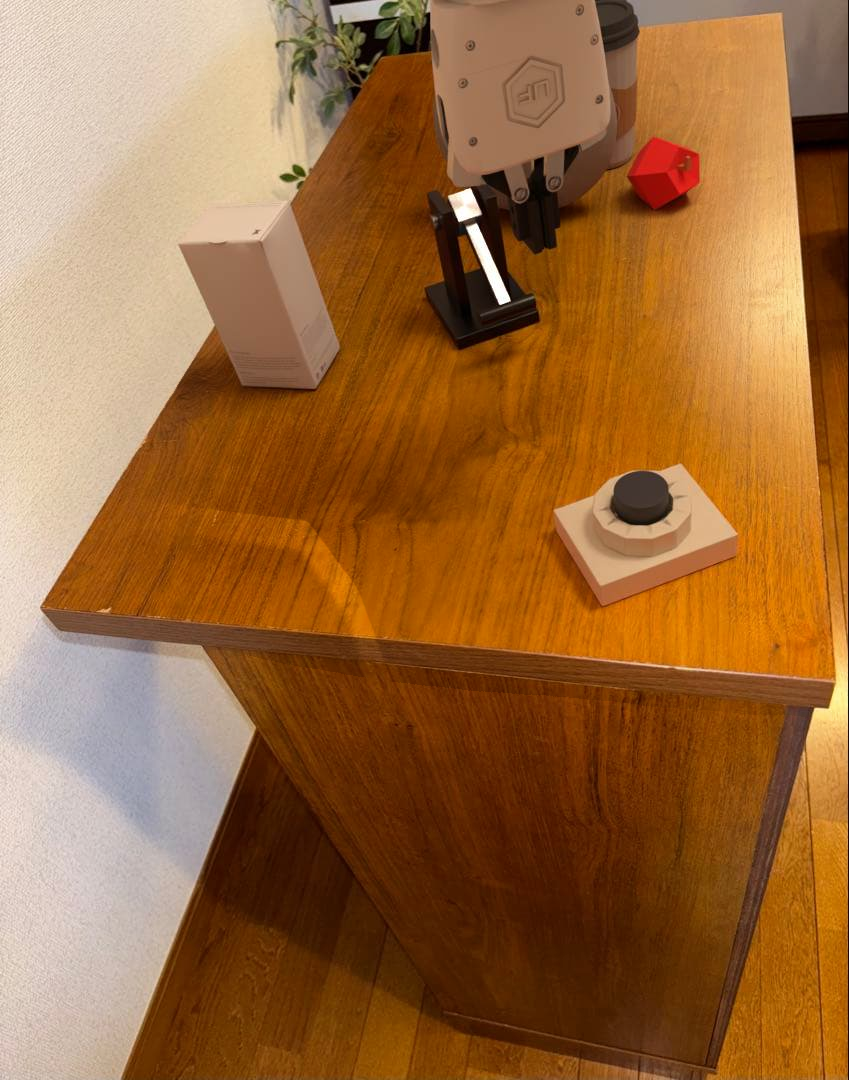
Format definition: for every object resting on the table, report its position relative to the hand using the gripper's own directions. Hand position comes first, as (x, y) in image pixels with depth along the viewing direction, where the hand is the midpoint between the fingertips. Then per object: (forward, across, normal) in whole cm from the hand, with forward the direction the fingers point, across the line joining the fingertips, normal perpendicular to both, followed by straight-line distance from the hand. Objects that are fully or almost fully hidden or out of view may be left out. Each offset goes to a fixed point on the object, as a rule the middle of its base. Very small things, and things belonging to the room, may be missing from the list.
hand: (538, 242), depth 68 cm
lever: (+10, 0, +16) cm, 18 cm away
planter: (+16, +11, +33) cm, 38 cm away
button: (+13, 0, -15) cm, 20 cm away
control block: (+16, 0, -15) cm, 22 cm away
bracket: (+16, 0, +19) cm, 25 cm away
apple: (+16, +23, +27) cm, 39 cm away
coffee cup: (+16, +22, +39) cm, 48 cm away
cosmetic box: (+16, -19, +20) cm, 32 cm away
